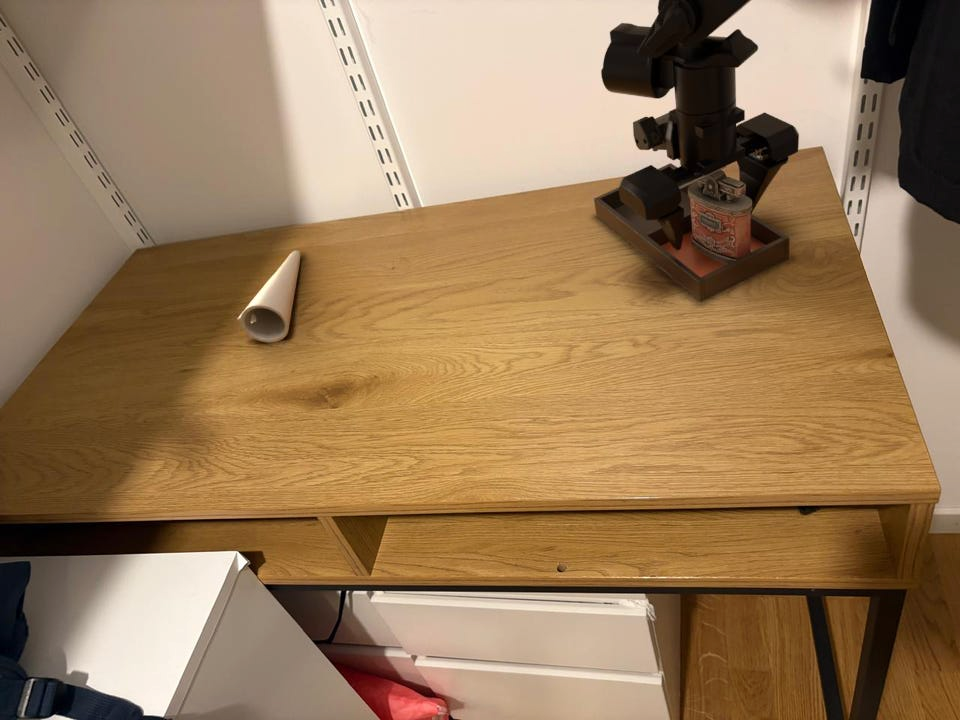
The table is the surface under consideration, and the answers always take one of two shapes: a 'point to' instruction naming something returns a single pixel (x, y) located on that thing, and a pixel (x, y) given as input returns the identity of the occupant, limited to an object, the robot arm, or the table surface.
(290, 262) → the long tapered cone
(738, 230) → the lighter
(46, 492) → the table surface
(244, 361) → the table surface
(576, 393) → the table surface
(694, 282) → the divided tray
